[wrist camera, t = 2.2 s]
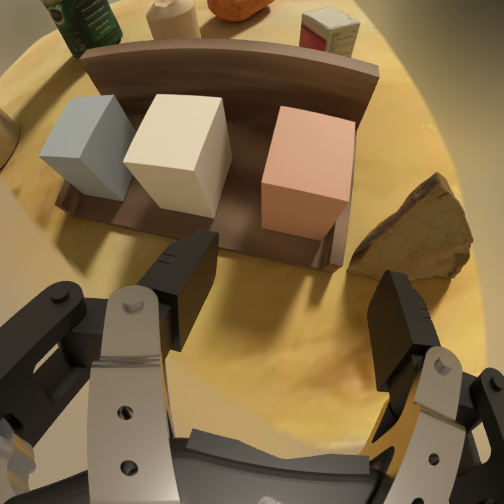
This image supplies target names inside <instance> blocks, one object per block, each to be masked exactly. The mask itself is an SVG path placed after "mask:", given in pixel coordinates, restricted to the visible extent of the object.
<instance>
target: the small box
mask: <svg viewBox="0 0 504 504" xmlns="http://www.w3.org/2000/svg"><path fill="white" fill-rule="evenodd" d="M359 26H360V22H359V21H357V20H355V19H354V18H352V17H351V16H349V15H347V14H346V13H344V12H342V11H340V10H338V9H337V8H335V7H328V8H322V9H318V10H313V11H309V12H305V13H302V22H301V33H300V42H299V47H303V48H309V49H314V50H319V51H324V52H328V53H333V54H337V55H341V56H345V57H349V58H351V55H352V51H353V48H354V44H355V41H356V37H357V33H358V30H359Z"/></svg>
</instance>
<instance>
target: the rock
mask: <svg viewBox="0 0 504 504" xmlns="http://www.w3.org/2000/svg"><path fill="white" fill-rule="evenodd" d="M472 242H473V237H472V234H471V231H470V228H469V225H468V222H467V220H466V218H465V213H464V210H463V208H462V206H461V205H460V203H459V201H458V200H457V199H456V198H455V196H454V194H453V192H452V191H451V189H450V187H449V185H448V182H447V180H446V179H445V178H444V177H443V176H442V175H441V174H440V173H438V172H436V173H435V174H433V175H432V176H431V177H430V178H428V179H427V180H425V181H424V182H423V183H421V184H420V185H419V186H418V187H417V188H416V189H415V190H413V191H412V193H411V194H410V195H409V196H408V197H407V198H406V200H405V202H404V204H403V205H402V206H401V207H400V209H399V210H398V211H397V212H396V213H394V214H392V215H391V216H389V217H388V218H387V219H385V220H384V221H382V222H381V223H380V224H378V226H377V227H376V228H374V229H373V230H372V231H371V232H370V233H369V234H368V235H367V236H366V238H365V239H364V240H363V241H362V242H361V244H360V245H359V246H358V248H357V249H356V250H355V252H354V254H353V256H352V259H351V263H350V265H349V267H348V272H349V273H350V274H352V275H353V274H361V275H364V276H367V277H372V278H374V279H376V280H378V281H380V280H381V278H382V276H383V274H384V272H385V271H386V270H391V271H396V272H400V273H405V274H406V275H407V276H408V279H409V281H410V282H412V281H415V280H419V279H422V280H425V279H429V278H432V277H435V276H438V277H441V278H445V279H451V278H455V276H456V275H457V274H458V273H459V272H460V271H461V269H462V267H463V266H464V265H465V264H466V263H467V261H468V260H469V258H470V252H469V249H470V247H471V243H472Z"/></svg>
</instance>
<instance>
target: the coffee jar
mask: <svg viewBox="0 0 504 504" xmlns="http://www.w3.org/2000/svg"><path fill="white" fill-rule="evenodd" d="M41 1H42V2H43V4H44V5H45V7H46V8H47V10H48V11H49V13H50V15H51V16H52V18H53V20H54V22H55V24H56V26H57V27H58V29H59V31H60V33H61V35H62V37H63V39H64V40H65V42H66V44H67V46H68V48H69V50H70V51H71V53H72V55H73V56H74V57H76V58H79V59H80V57H81V56H82V55H83V54H84V52H85V51H86V50H87V49H92V48H98V47H103V46H109V45H116V44H117V43H118V42H119V40H120V39H121V38H122V36H123V33H122V31H121V28H120V26H119V24H118V22H117V20H116V18H115V16H114V14H113V12H112V10H111V8H110V6H109V3H108V1H107V0H41Z"/></svg>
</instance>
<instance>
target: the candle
mask: <svg viewBox="0 0 504 504" xmlns="http://www.w3.org/2000/svg"><path fill="white" fill-rule="evenodd" d="M146 18H147V21H148V24H149V27H150V30H151V33H152V36H153V39H154V40H163V39H186V38H201V34H200V29H199V24H198V19H197V14H196V9H195V4H194V2H193V1H192V0H157V1H155V2H154V4H153V5H152V7H151V8H150V10H149V11H148V13H147V15H146Z"/></svg>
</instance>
